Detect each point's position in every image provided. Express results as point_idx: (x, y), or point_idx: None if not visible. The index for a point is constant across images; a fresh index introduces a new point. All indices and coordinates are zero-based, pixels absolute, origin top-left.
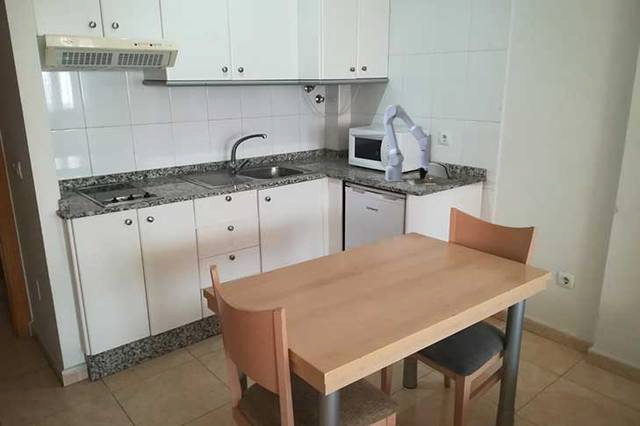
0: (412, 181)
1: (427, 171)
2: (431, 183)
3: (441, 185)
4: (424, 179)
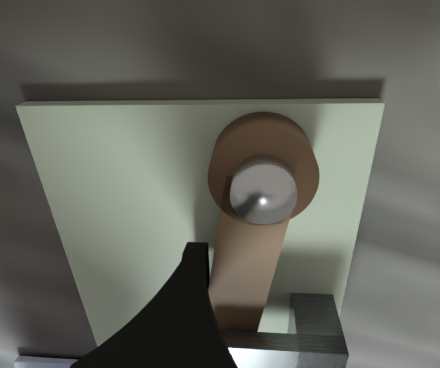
0: None
1: (233, 359)
2: None
3: (418, 13)
4: (236, 265)
